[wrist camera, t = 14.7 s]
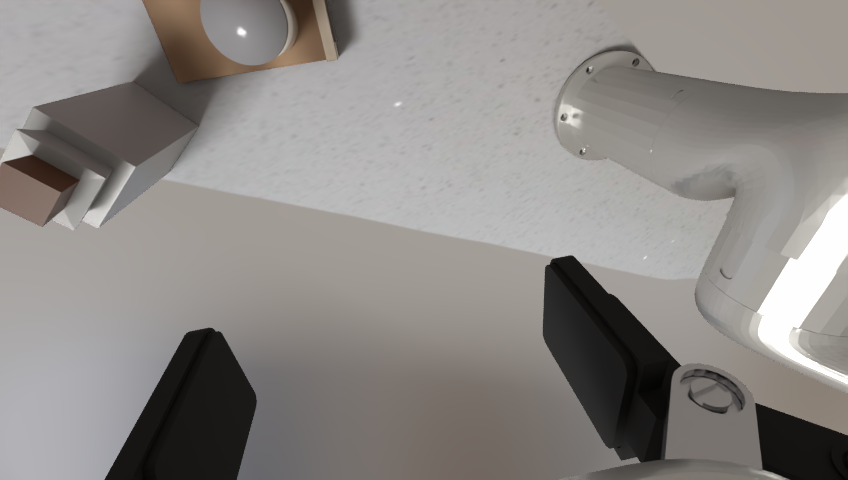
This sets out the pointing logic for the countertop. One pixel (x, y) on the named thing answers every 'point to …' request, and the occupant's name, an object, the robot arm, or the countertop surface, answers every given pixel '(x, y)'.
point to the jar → (250, 28)
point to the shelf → (199, 59)
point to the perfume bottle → (90, 155)
